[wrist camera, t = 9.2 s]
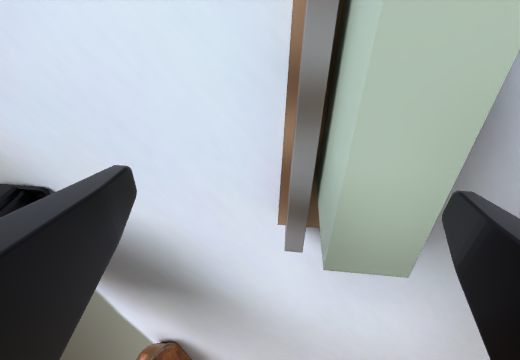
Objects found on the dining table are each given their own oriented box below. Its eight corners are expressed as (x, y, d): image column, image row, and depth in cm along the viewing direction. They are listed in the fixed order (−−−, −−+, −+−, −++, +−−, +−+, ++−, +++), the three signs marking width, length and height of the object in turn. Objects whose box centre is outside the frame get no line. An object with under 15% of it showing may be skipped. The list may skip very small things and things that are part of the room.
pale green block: (377, 187, 20) (408, 277, 15) (316, 183, 21) (323, 269, 15) (445, -34, 13) (555, -25, 8) (350, -37, 13) (389, -28, 8)
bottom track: (397, 224, 23) (411, 261, 21) (278, 215, 24) (276, 250, 21) (547, -163, 11) (628, -200, 9) (304, -162, 12) (306, -196, 9)
